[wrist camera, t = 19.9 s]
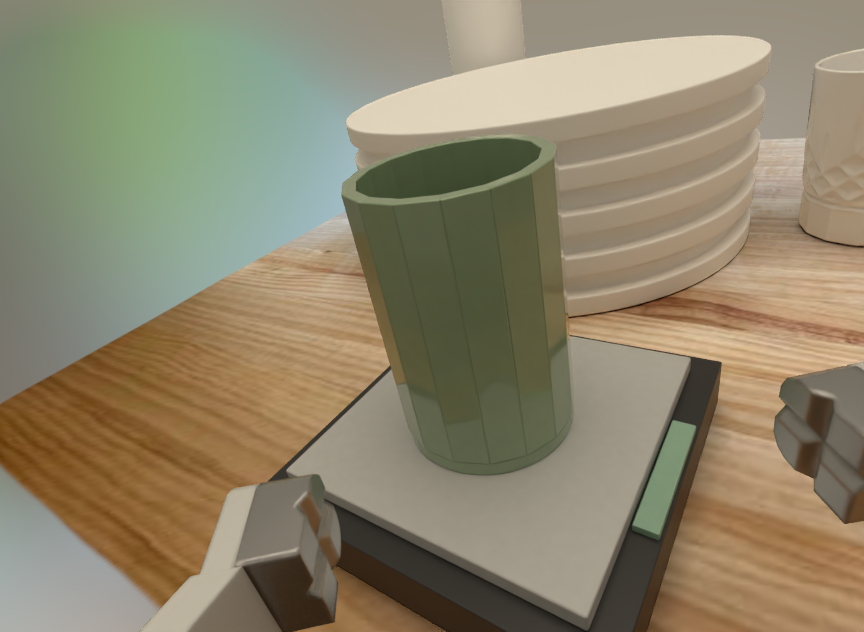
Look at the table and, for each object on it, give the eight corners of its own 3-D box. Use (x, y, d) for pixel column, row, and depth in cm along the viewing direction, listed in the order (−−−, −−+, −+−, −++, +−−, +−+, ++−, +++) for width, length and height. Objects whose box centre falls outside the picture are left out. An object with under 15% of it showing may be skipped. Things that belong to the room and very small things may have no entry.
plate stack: (383, 210, 55) (354, 96, 49) (644, 154, 54) (645, 32, 49) (383, 358, 31) (327, 167, 25) (854, 260, 30) (907, 41, 24)
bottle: (538, 173, 56) (506, -201, 41) (466, 184, 57) (409, -173, 42) (533, 154, 63) (503, -173, 48) (469, 164, 64) (420, -150, 49)
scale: (717, 401, 23) (723, 348, 21) (615, 732, 14) (613, 676, 12) (452, 344, 31) (443, 302, 29) (274, 528, 21) (248, 480, 20)
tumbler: (602, 451, 18) (591, 165, 13) (419, 494, 18) (337, 223, 13) (543, 350, 24) (520, 123, 19) (404, 382, 23) (344, 163, 19)
